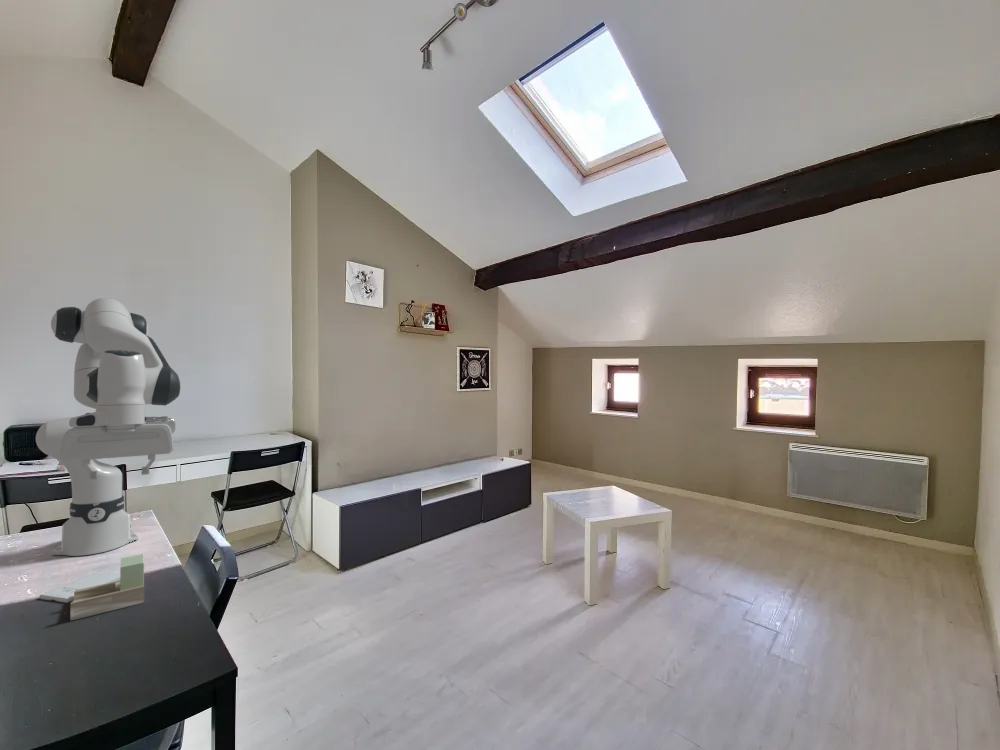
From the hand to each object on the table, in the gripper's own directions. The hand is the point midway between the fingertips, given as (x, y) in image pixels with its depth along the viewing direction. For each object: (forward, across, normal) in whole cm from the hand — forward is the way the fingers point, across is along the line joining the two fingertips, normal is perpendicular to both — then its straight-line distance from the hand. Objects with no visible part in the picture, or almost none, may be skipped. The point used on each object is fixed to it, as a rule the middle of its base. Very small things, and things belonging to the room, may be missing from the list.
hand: (119, 476), depth 103 cm
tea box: (+26, -3, 0) cm, 26 cm away
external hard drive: (+28, +6, -11) cm, 30 cm away
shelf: (+28, +1, 0) cm, 28 cm away
